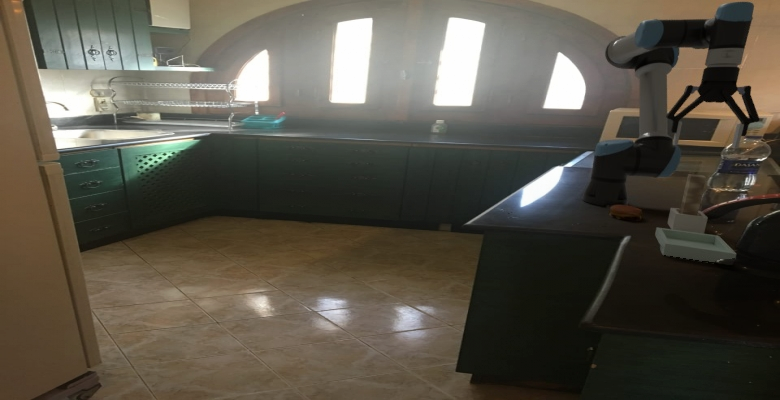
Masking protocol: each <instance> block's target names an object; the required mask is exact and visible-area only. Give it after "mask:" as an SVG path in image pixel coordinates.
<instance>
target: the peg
mask: <svg viewBox="0 0 780 400" xmlns="http://www.w3.org/2000/svg"><path fill="white" fill-rule="evenodd" d="M706 180H707V177H706V176H705V175H701V174H694V173H693V174H689V173H688V174H687V179H686V182H685V188H684V190H683V194H682V195H683V197H682V199H681V200H682V201H681V206H680V208H679V209H680V213H679V214H687V215H696V216H697V214H698V211H700V205H701V200H702V196H703V192H704V187H705V184H706Z"/></svg>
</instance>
